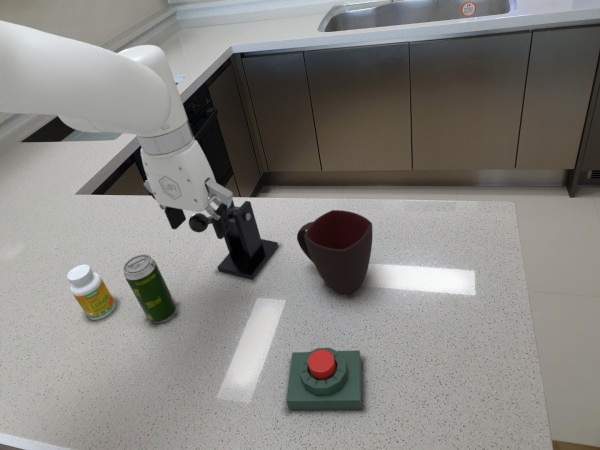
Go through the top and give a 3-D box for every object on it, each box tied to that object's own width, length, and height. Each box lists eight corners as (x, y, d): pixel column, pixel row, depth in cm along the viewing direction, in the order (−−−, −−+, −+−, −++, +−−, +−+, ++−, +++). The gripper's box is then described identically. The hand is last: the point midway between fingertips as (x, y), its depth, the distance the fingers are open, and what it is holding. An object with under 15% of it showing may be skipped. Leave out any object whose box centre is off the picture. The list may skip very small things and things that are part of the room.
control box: (361, 359, 68) (358, 342, 66) (361, 409, 62) (359, 392, 59) (294, 361, 70) (289, 344, 67) (289, 410, 63) (283, 393, 61)
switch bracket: (252, 280, 86) (235, 226, 78) (218, 271, 89) (199, 219, 82) (278, 246, 92) (265, 194, 85) (245, 239, 96) (230, 188, 88)
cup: (353, 311, 76) (345, 256, 68) (290, 282, 84) (277, 230, 77) (385, 274, 81) (380, 220, 74) (322, 250, 89) (313, 199, 82)
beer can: (169, 297, 86) (146, 249, 79) (182, 312, 82) (159, 262, 75) (143, 314, 84) (116, 265, 76) (155, 329, 80) (128, 280, 73)
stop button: (336, 357, 65) (334, 349, 64) (335, 379, 62) (333, 371, 61) (310, 357, 65) (308, 350, 64) (308, 380, 62) (306, 372, 61)
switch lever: (199, 235, 74) (199, 216, 73) (184, 232, 75) (184, 213, 75) (246, 223, 85) (247, 206, 85) (232, 220, 87) (232, 203, 86)
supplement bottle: (99, 324, 83) (75, 286, 78) (81, 315, 86) (56, 278, 80) (122, 303, 87) (100, 265, 81) (103, 295, 90) (81, 258, 84)
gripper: (106, 144, 68) (148, 234, 78) (196, 154, 60) (231, 252, 70) (140, 121, 73) (176, 208, 83) (228, 128, 65) (256, 223, 75)
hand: (201, 229), depth 77 cm, fingers open, 9 cm apart
